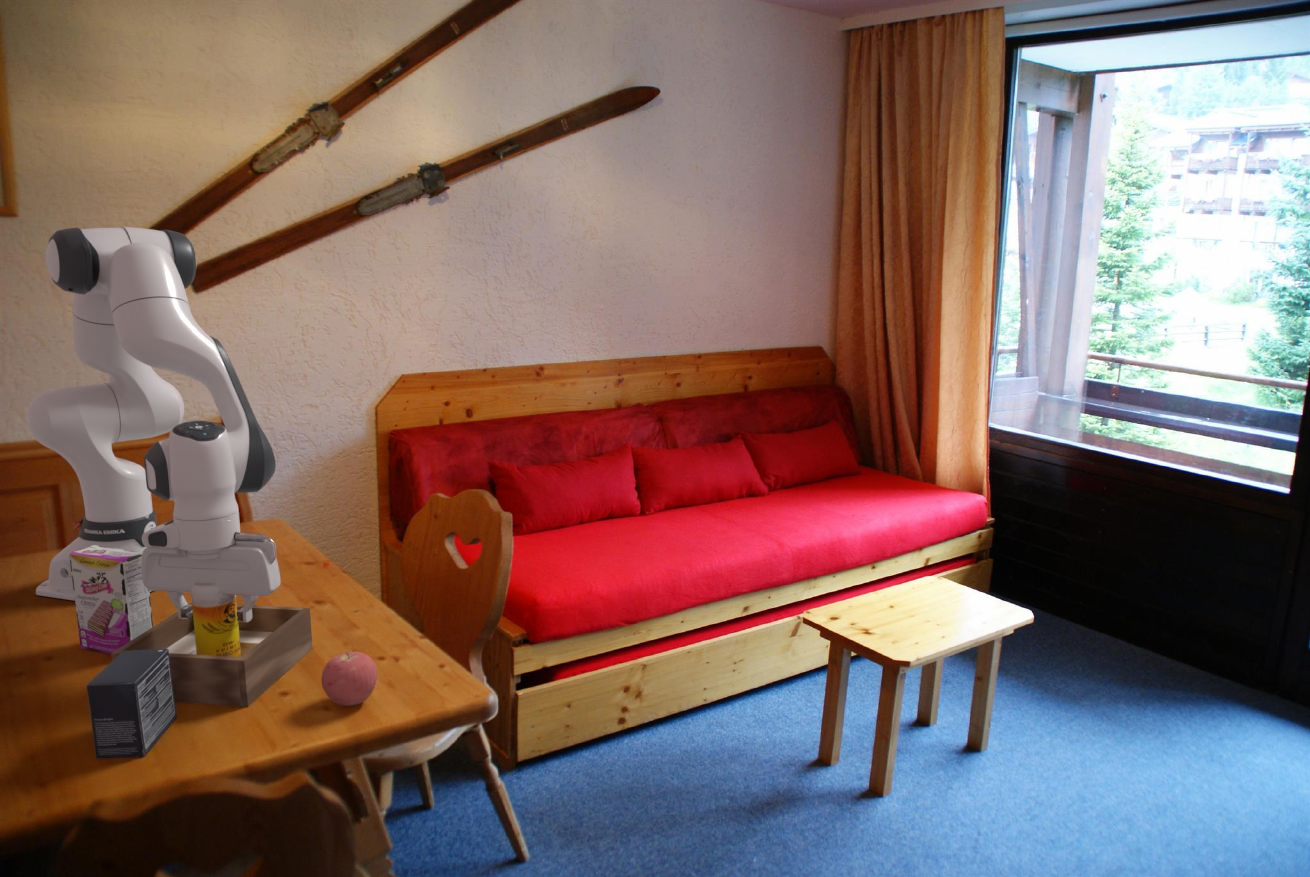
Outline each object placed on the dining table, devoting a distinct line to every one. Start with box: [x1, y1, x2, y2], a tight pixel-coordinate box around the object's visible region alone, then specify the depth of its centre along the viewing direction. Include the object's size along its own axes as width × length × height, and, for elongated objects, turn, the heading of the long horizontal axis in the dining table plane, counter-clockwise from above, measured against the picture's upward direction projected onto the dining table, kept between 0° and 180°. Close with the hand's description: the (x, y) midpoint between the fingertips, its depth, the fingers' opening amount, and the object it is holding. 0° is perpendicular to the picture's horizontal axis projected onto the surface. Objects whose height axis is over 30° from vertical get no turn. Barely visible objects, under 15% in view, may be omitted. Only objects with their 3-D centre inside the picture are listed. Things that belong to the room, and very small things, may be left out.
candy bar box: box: [69, 545, 154, 655], centre depth 153 cm, size 11×5×16 cm, turn 71°
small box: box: [86, 649, 178, 760], centre depth 126 cm, size 11×6×10 cm, turn 5°
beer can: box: [190, 583, 241, 657], centre depth 145 cm, size 6×6×15 cm
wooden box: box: [110, 602, 313, 708], centre depth 146 cm, size 20×20×7 cm
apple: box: [321, 651, 378, 707], centre depth 136 cm, size 7×7×8 cm
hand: (215, 619), depth 145 cm, fingers open, 8 cm apart
